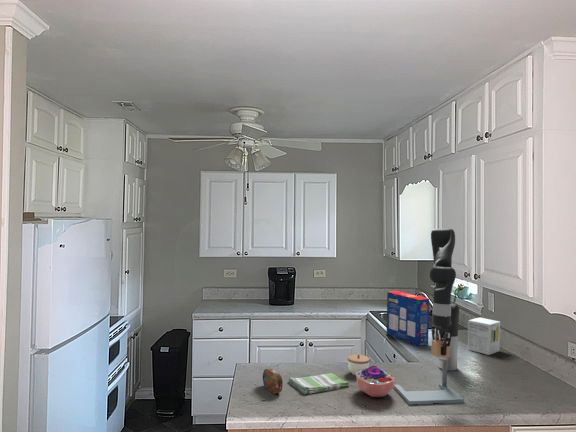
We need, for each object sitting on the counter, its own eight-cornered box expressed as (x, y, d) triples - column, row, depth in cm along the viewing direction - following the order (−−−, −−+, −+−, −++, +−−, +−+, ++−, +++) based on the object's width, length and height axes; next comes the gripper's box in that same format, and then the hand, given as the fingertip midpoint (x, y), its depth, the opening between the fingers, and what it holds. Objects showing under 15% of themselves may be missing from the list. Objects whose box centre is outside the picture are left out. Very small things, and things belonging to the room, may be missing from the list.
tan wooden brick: (431, 353, 196) (431, 339, 196) (444, 353, 197) (444, 339, 197) (436, 357, 192) (436, 342, 192) (449, 356, 193) (450, 342, 193)
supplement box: (488, 355, 257) (489, 324, 257) (467, 349, 267) (467, 319, 267) (500, 351, 265) (500, 321, 265) (478, 345, 276) (479, 317, 275)
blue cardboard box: (428, 344, 276) (429, 298, 276) (418, 346, 272) (419, 299, 272) (395, 333, 300) (396, 291, 300) (386, 334, 296) (387, 291, 296)
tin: (261, 384, 207) (262, 366, 207) (268, 383, 208) (268, 365, 208) (277, 397, 193) (277, 377, 193) (283, 395, 195) (284, 376, 195)
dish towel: (287, 382, 211) (287, 375, 211) (330, 375, 221) (330, 368, 221) (304, 396, 196) (305, 388, 196) (349, 388, 206) (350, 380, 206)
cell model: (355, 402, 190) (355, 375, 190) (354, 384, 210) (355, 359, 210) (396, 405, 188) (397, 378, 187) (392, 386, 207) (392, 362, 207)
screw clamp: (392, 386, 208) (392, 356, 208) (441, 384, 211) (442, 355, 211) (409, 404, 188) (410, 372, 188) (463, 402, 191) (464, 370, 191)
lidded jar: (359, 379, 216) (359, 359, 216) (342, 372, 224) (343, 353, 224) (373, 374, 223) (374, 355, 223) (357, 368, 231) (357, 350, 231)
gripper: (425, 310, 201) (424, 348, 201) (441, 317, 187) (440, 358, 187) (441, 310, 202) (440, 348, 202) (458, 317, 188) (457, 358, 188)
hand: (440, 353), depth 194 cm, fingers closed on tan wooden brick, 4 cm apart
